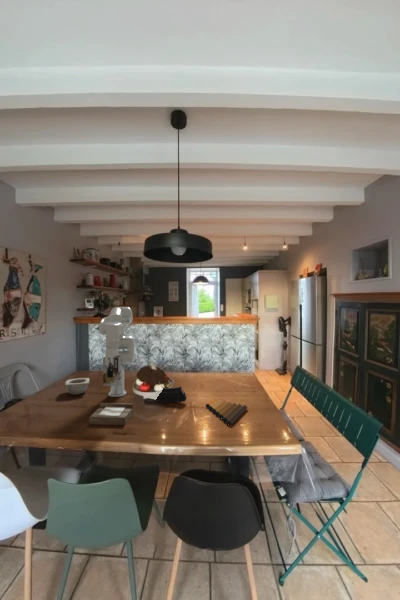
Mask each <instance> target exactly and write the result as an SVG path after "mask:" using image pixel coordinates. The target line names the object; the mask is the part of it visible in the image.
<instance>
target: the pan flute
mask: <svg viewBox="0 0 400 600" xmlns="http://www.w3.org/2000/svg"><path fill="white" fill-rule="evenodd" d="M206 407H208V408H207V409H208V411H211V410H212V411H211V412H213V413H212V414H215V416H216V415H218V416H217V417H218V419H219V418H222V419H221V420H222V422H223V421H225V422H224V423H225V424H226V425H227V424H229V425H232V424H233V423H234V422H235V421H236V420H237V421H238V420H239V418H241V416H243V414H244V413H246V411H247V410H248V406H247V405H246V404H244V405H242V404H240V403H238V404H236V403H235V402H234V403H232V402H230V401H228V402H227V401H225V400H223V401H222V400H221V399H218V400H217V399H216V398H213V399H212V400H210V401H209V402H208V403H206V404H205V408H206ZM246 409H247V410H246ZM245 410H246V411H245ZM235 423H236V422H235ZM235 423H234V424H235ZM234 424H233V425H234ZM229 425H228V426H229ZM233 425H232V426H233Z"/></svg>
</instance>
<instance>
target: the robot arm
mask: <svg viewBox="0 0 400 600" xmlns="http://www.w3.org/2000/svg"><path fill="white" fill-rule="evenodd" d="M133 317H134V316H133V310H132V309H131V308H130V307H129V306H117V307H115V306H114V307H113V308H112V309H111V311H110V313H109V315H108V316H105V317H103V318H102V319H101V320H100V322H99V325H98V333H99V334H100V335H101V336H105V353H104V354H105V356H104V357H105V365H106V367H107V377H113V370H112V368H113V365H114V359H115V357H117V356H121V383H120V384H119V385H113V386H110V391H109V392H108V396H109V397H111V398H119V397H123V396H125V395H127V391H126V390H125V368H124V367H123V365H130V364H133V363H134V361H135V340H134V338H133V337H132V336H129V335H128V336H126V335H125V329H124V325H130V324H132V322H133V321H134V319H133ZM110 363H111V365H109V364H110ZM110 366H111V367H110Z"/></svg>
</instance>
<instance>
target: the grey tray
mask: <svg viewBox="0 0 400 600" xmlns="http://www.w3.org/2000/svg"><path fill="white" fill-rule="evenodd" d="M133 414H134V403H132V402H131V403H128V402H127V403H125V402H124V403H122V402H121V403H120V402H119V403H118V402H115V403H114V402H100V403H99V407H98V408H97V409H96V410H95V411H94V412H93V413H92V414H91V415H90V416H89V425H113V426H116V425H117V426H119V425H121V426H125V425H126V424H127V422H129V420H130V418H131V417H132V415H133Z"/></svg>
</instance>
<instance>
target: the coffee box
mask: <svg viewBox="0 0 400 600" xmlns="http://www.w3.org/2000/svg"><path fill="white" fill-rule="evenodd" d="M109 365H111V363H110V364H109ZM121 366H122V364H121V356H117V357H115V359H114V365H113V368H112V370H113V377H107V367H106V365H105V356H104V357H103V358H102V378H103V379H102V381H103V383H102V386H105V387H106V386H107V387H108V386H109V387H111V386H113V385H119V384H120V383H121ZM110 367H111V366H110Z"/></svg>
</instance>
